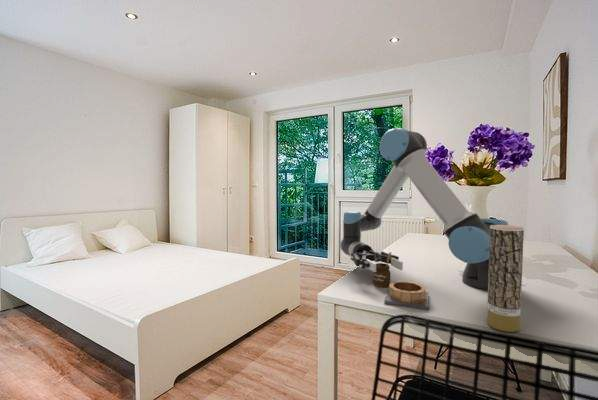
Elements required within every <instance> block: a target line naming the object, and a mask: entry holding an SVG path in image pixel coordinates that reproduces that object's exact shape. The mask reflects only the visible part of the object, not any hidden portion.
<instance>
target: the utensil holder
mask: <svg viewBox="0 0 598 400" xmlns="http://www.w3.org/2000/svg"><path fill="white" fill-rule="evenodd" d="M380 253H381V252H378V253H377V254H380ZM374 255H375V254H374ZM391 255H392V252H389V253H388V258H387V263H384V262H377V261H378V260H377V261H376V260H375V261H376V262H375V261H374V262H375V263H376V272H373V271H372V284H373V286H375V287H380V288H389V285H390V283H391V271H390V265H389V263H388V262H389V260H390V257H391ZM379 258H381V257H379ZM379 258H378V259H379ZM374 259H375V258H374Z"/></svg>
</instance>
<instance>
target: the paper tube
mask: <svg viewBox="0 0 598 400" xmlns="http://www.w3.org/2000/svg"><path fill="white" fill-rule="evenodd" d="M490 226H491V227H490V243H489V273H488V290H487V303H486V304H487V306H486V307H487V310H486V311H487V312H486V314H487V315H486V322H487V324H488V325H489V326H490V328H492V329H494V330H497V331H501V332H505V333H516V332H518V331H519V330H520V328H521V313H522V311H521V309H522V307H521V306H522V281H523V263H524V262H523V258H524V235H525V234H524V232H525V230H524V227H523V226H518V225H510V224H508V225H490Z"/></svg>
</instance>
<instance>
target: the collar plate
mask: <svg viewBox="0 0 598 400" xmlns="http://www.w3.org/2000/svg"><path fill="white" fill-rule="evenodd" d="M426 288H427V287H426V286H424V285H423V284H422V283H421V284H420V283H419V282H418V283H417V282H413V281H406V280H397V281H392V282H390V285H389V286H388V290H387V292H386V295H385V298H384V300H383V302H384V304H385V305H391V306H392V305H393V306H398V307H405V308H412V309H419V310H425V311H426V310H427V311H429V292H428V291H426V290H427V289H426Z"/></svg>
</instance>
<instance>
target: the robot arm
mask: <svg viewBox="0 0 598 400" xmlns="http://www.w3.org/2000/svg"><path fill="white" fill-rule="evenodd" d="M378 149H379V151H380V152H379V153H380V155H381V156H382V158H384V159H385V160H386V161H391V162H392V163H393V166H392V168H391V170H390V172H389V173H388V175H387V177H386V178H385V179H384V180H383V182H382V185H381V186H380V188H379V189H378V191H377V193H376V194H375V196H374V197H373V199H372V201H371V203H370V204H369V205H368V207H367V208H366V210H365V212H364V213H363V214H362V212H361V211H357V210H351V211H350V210H348V211H345V212H344V213H343V220H342V223H343V226H342V228H343V229H342V230H343V231H342V232H343V234H342V235H343V236H342V239H341V241H340V244H339V247H340V250H341V251H342V252H343V253H344V254H345V255H346V256H349V257H350V261H353V263H354V265H355V266H356V267H360V266H361V269H366V268H367V269H369V270H370V271H372V273H373V272H376V264H377V263H384V264H387V258H388V254H389V252H388V253H387V252H385V251H383V250H382V251H380V252H377V251H375V250H373V248H372V247H371V246H370V245H368V244H366V243H364V242H362V241H361V239H362V232H367V231H368V232H369V231H374V230H376V229H378V228H380V227H381V225H382V218H383V216H384V215H385V213H386V212H387V210H388V209H389V207H390V206H391V204H392V202H393V201H394V199H395V198H396V197H397V195H398V193H400V190H401V189H402V188H403V186H404V184H405V183H406V181H407V180H408V179H410V182H412V183H413V185H414V186H415V188H416V189H417V190H418V192H419V193H420V194H421V196H422V197H423V199H424V200H425V201H426V203H427V204H428V206H429V207H430V208H431V209H432V211H433V212H434V213H435V215H436V216H437V218H438V219H439V220H440V221H441V223H442V224H443V226H444V228H443V234H444V235H445V236H446V238H447V239H448V248H449V251H450V252H451V254H452V255H453V256H454V257H455V258H456V259H458V260H459V261H461V262H463V263H466V265H465V267H464V269H463V272H462V275H461V277H462V278H461V279H462V282H463V283H464V284H466V285H467V286H470V287H473V288H477V289H482V290H487V291H488V273H489V243H490V227H491V226H490V225H509V222H508V221H506V220H505V219H496V218H484V217H483V218H482V217H480V216H479V215H478V214H477V213H476V212H471V211H469V210H468V209H467V208H466V207H465V206H464V203H462V202H461V201H460V199H459V198H458V197H457V195H456V194H455V193H454V192H453V190H452V189H451V187H449V185H448V184H447V183H446V181H445V180H444V179H443V178H442V177H441V174H439V173H438V171H437V170H436V169H435V167H433V165H432V163H430V161H429V159H428V158H427V157H426V154H427V150H428V144H427V140H426V138H425V136H423V135H422V134H421V133H419V132H416V131H411V130H407V129H404V128H402V127H399V128H398V127H397V128H392V129H389V130H387V131H386V132H385V133H384V134H383V135H382V137H381V139H380V142H379V148H378ZM377 253H380V254H377ZM374 254H375V255H374ZM379 257H381V258H379ZM374 258H375V259H374ZM378 258H379V259H378ZM375 260H376V261H377V260H378V261H377V262H376V261H375ZM389 264H390V266H391V267H393V268H396V269H398V270H400V271H403V269H404V262H403V261H402V260H400V258H399V256H397V255H394V254H391V257H390V260H389V262H388V265H389Z"/></svg>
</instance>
